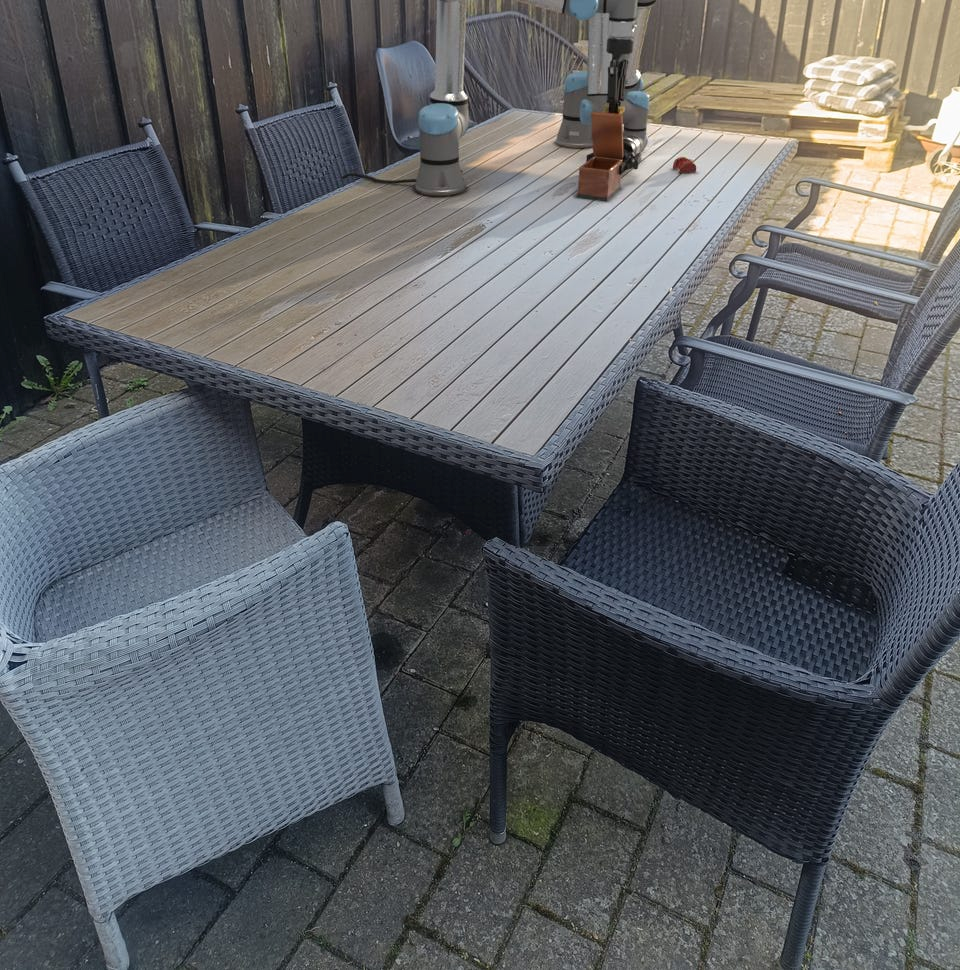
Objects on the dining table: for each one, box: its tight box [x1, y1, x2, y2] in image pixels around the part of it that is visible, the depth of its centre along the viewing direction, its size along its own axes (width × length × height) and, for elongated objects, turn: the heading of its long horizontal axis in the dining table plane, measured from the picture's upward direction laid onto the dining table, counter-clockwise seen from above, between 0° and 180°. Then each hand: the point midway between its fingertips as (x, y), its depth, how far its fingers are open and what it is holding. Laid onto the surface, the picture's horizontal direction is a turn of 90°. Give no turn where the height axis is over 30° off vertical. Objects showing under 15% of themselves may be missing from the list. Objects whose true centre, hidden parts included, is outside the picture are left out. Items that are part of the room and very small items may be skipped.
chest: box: [577, 156, 623, 202], centre depth 253 cm, size 14×9×9 cm
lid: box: [591, 105, 625, 158], centre depth 251 cm, size 14×9×8 cm
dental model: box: [672, 156, 697, 174], centre depth 274 cm, size 6×4×8 cm
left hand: (613, 125), depth 252 cm, fingers closed on lid, 2 cm apart
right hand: (604, 168), depth 255 cm, fingers closed on chest, 9 cm apart
